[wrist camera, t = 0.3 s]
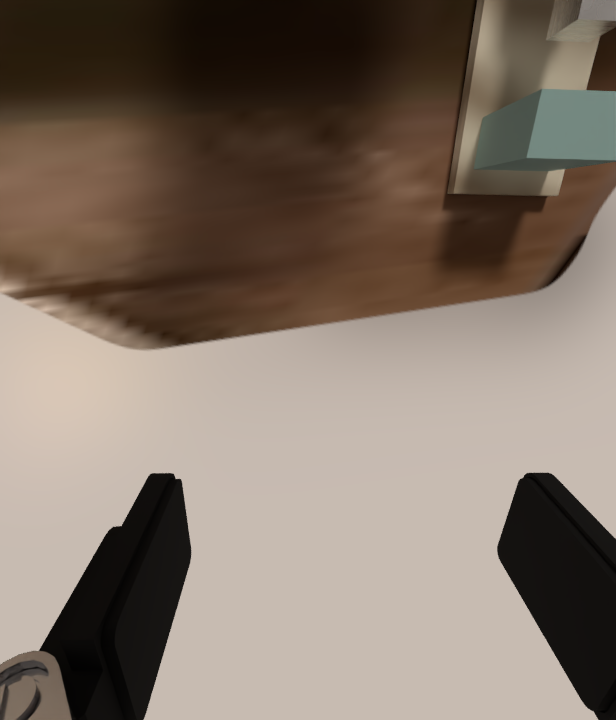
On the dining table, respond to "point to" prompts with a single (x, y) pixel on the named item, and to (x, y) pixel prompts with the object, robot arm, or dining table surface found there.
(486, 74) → the base board
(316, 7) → the dining table surface
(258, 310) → the dining table surface
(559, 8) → the tube
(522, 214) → the dining table surface
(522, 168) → the socket block
